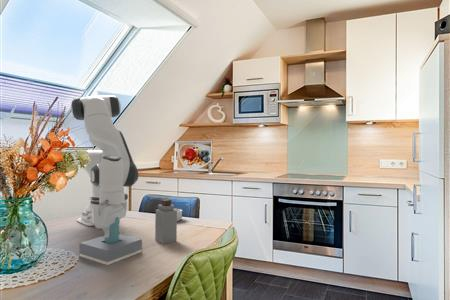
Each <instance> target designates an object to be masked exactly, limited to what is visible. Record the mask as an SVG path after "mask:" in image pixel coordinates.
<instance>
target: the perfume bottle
mask: <svg viewBox="0 0 450 300" xmlns="http://www.w3.org/2000/svg"><path fill="white" fill-rule="evenodd" d="M160 203H161V204H157V207H158V209H155V219H154V220H155V221H154V222H155V227H154V228H155V230H154V231H155V234H154V236H155V237H154V240H155V241H156V242H158V243H159V244H162V245H165V244H170V243H174V242H177V240H178V239H177V233H178V231H177V228H178V227H177V225H178V224H177V222H178V221H177V210H174V209H175V205H174V204H172V199H168V198H167V199H165V198H164V199H161V200H160Z"/></svg>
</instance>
